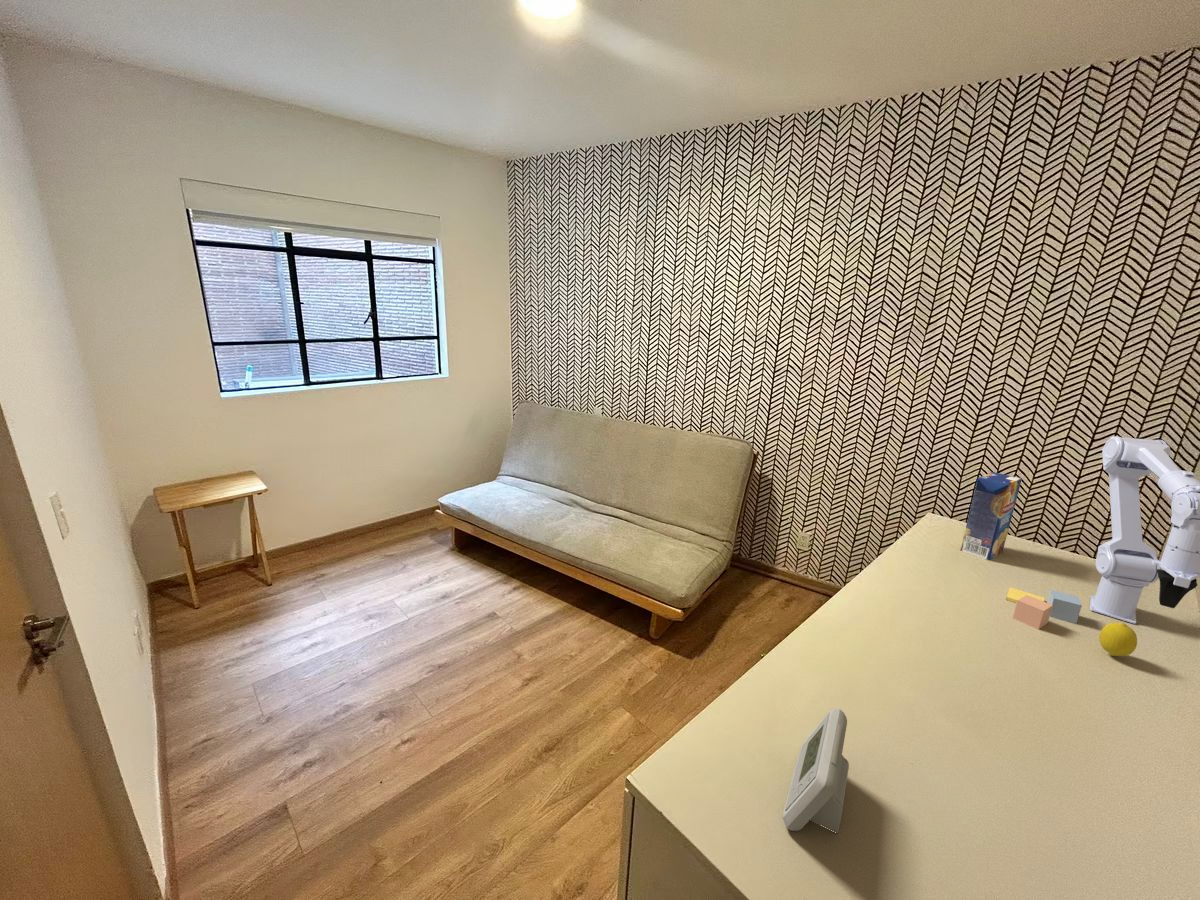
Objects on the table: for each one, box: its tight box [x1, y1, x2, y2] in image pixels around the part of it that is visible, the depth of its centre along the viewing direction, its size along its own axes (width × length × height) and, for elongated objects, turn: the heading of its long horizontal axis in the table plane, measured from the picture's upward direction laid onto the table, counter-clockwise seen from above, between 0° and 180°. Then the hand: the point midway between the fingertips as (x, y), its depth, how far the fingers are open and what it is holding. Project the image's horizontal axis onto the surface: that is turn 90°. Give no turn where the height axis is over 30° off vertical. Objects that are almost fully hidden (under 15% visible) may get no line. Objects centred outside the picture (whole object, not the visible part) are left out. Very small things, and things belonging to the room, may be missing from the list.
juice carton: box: [960, 471, 1023, 561], centre depth 152 cm, size 12×8×24 cm, turn 125°
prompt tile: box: [1005, 586, 1045, 604], centre depth 127 cm, size 7×7×1 cm
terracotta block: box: [1012, 595, 1053, 630], centre depth 118 cm, size 5×5×5 cm
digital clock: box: [782, 708, 850, 834], centre depth 72 cm, size 16×9×11 cm, turn 137°
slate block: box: [1046, 589, 1083, 624], centre depth 121 cm, size 5×5×5 cm
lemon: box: [1098, 622, 1138, 657], centre depth 106 cm, size 6×6×8 cm
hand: (1166, 605), depth 107 cm, fingers closed
